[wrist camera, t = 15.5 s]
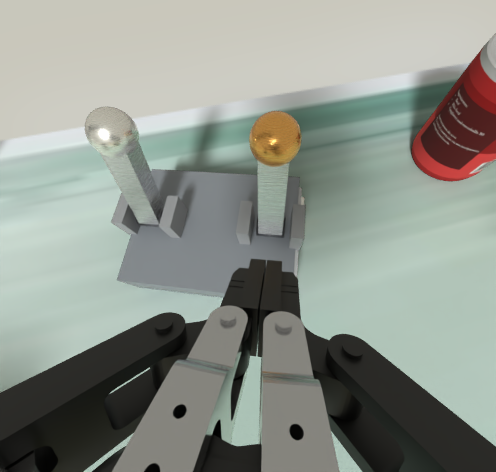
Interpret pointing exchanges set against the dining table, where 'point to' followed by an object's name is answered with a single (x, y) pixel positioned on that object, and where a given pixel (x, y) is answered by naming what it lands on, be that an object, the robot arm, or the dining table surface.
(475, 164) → the canned food
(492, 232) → the dining table surface
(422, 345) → the dining table surface
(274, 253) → the console
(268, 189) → the lever orange
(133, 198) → the lever white
